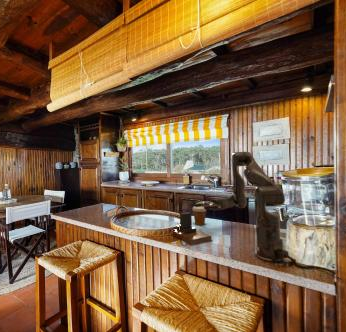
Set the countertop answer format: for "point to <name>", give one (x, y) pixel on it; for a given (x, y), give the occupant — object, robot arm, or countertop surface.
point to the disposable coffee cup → (199, 215)
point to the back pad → (185, 221)
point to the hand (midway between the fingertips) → (199, 206)
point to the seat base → (192, 235)
